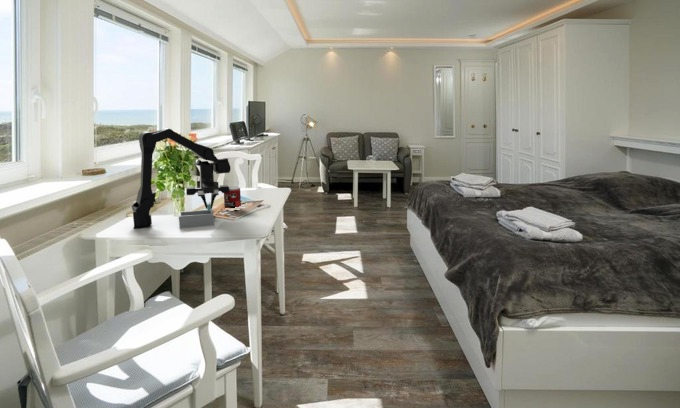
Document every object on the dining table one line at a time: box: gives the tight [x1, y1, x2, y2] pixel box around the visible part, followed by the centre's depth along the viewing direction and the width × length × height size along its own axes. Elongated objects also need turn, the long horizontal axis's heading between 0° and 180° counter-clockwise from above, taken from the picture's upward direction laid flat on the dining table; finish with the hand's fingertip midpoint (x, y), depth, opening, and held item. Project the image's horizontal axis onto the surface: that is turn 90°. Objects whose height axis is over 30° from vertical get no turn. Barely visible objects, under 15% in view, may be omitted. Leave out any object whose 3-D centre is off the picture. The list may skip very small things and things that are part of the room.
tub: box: [178, 209, 215, 229], centre depth 205 cm, size 14×9×5 cm, turn 108°
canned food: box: [223, 186, 242, 209], centre depth 232 cm, size 8×8×11 cm
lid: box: [196, 200, 214, 215], centre depth 216 cm, size 15×10×5 cm, turn 107°
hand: (209, 208), depth 218 cm, fingers closed on lid
